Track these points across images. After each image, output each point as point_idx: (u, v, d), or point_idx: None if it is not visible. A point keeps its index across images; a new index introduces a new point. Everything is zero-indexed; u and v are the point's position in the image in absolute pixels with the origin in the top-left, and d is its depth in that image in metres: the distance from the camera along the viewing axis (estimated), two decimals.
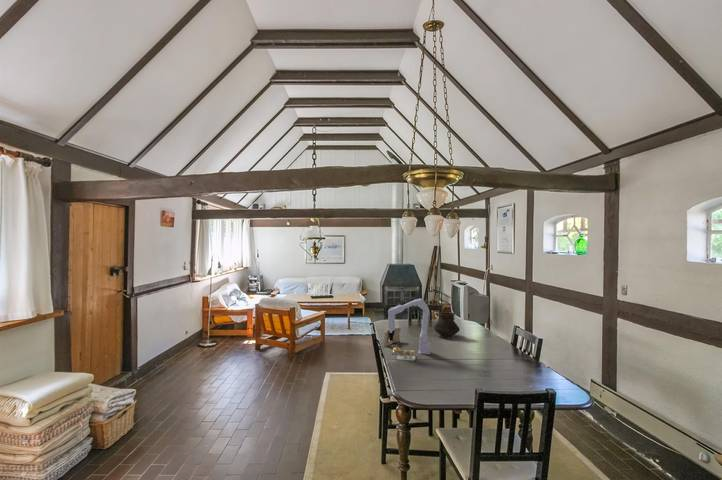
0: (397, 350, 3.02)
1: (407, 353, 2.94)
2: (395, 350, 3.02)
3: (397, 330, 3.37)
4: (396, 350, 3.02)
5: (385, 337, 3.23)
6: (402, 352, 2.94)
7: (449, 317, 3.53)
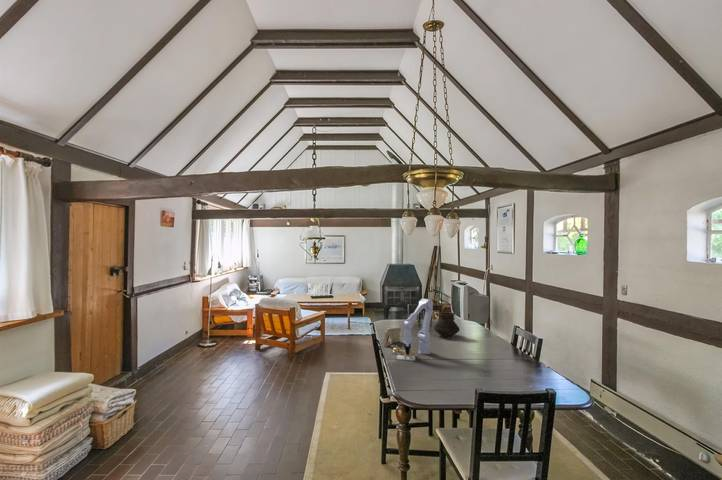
0: (397, 350, 3.02)
1: None
2: (395, 350, 3.02)
3: (397, 330, 3.37)
4: (396, 350, 3.02)
5: (385, 337, 3.23)
6: (402, 352, 2.94)
7: (449, 317, 3.53)
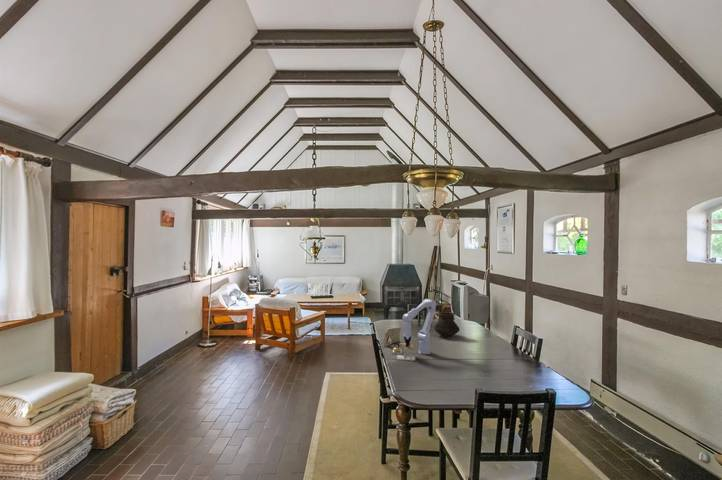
0: (397, 350, 3.02)
1: None
2: (395, 350, 3.02)
3: (397, 330, 3.37)
4: (396, 350, 3.02)
5: (385, 337, 3.23)
6: (402, 345, 2.94)
7: (449, 317, 3.53)
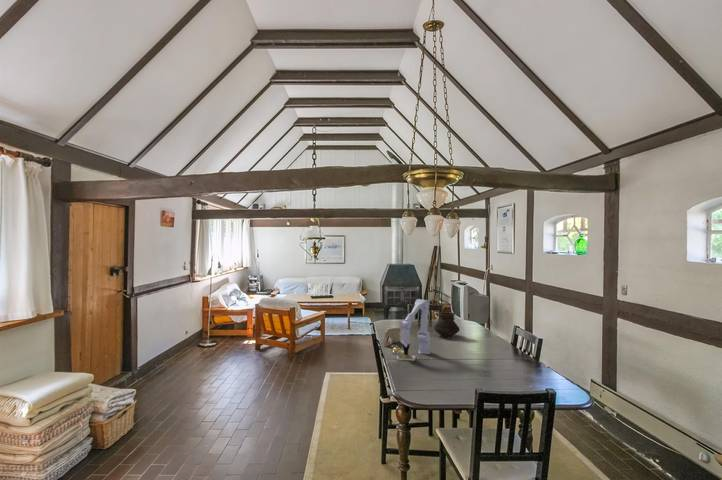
0: (397, 350, 3.02)
1: None
2: (395, 350, 3.02)
3: (397, 330, 3.37)
4: (396, 350, 3.02)
5: (385, 337, 3.23)
6: (400, 353, 2.87)
7: (449, 317, 3.53)
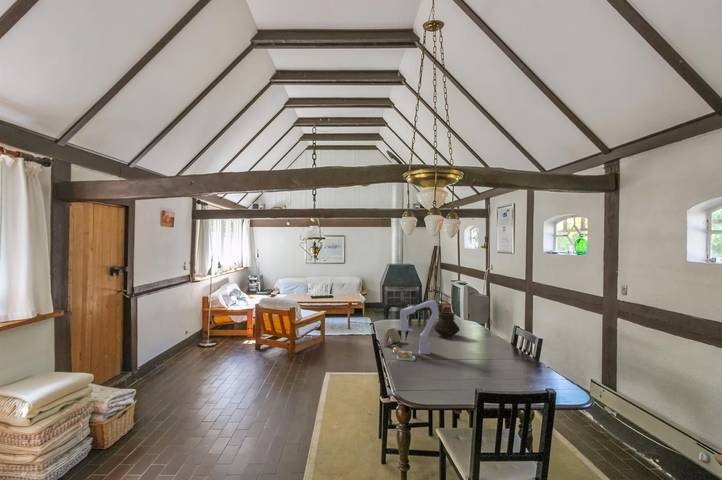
0: (397, 350, 3.02)
1: (405, 354, 2.87)
2: (395, 350, 3.02)
3: None
4: (396, 350, 3.02)
5: (385, 337, 3.23)
6: (400, 353, 2.87)
7: (449, 317, 3.53)
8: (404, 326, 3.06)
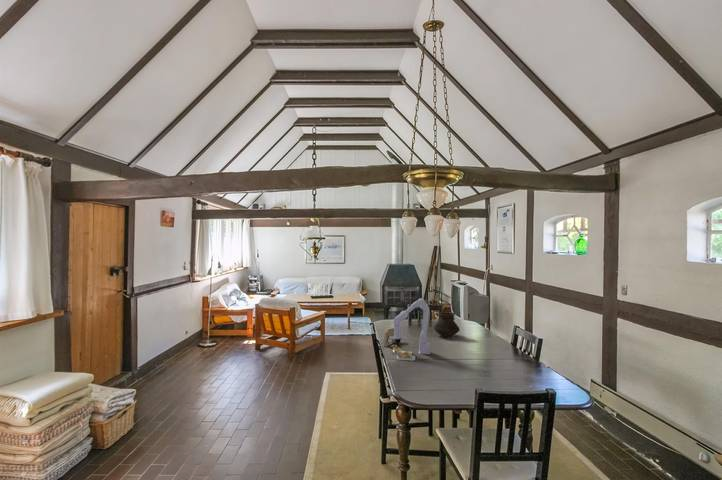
0: (397, 350, 3.02)
1: (405, 354, 2.87)
2: (395, 350, 3.02)
3: None
4: (396, 350, 3.02)
5: (385, 337, 3.23)
6: (400, 353, 2.87)
7: (449, 317, 3.53)
8: (398, 334, 3.06)
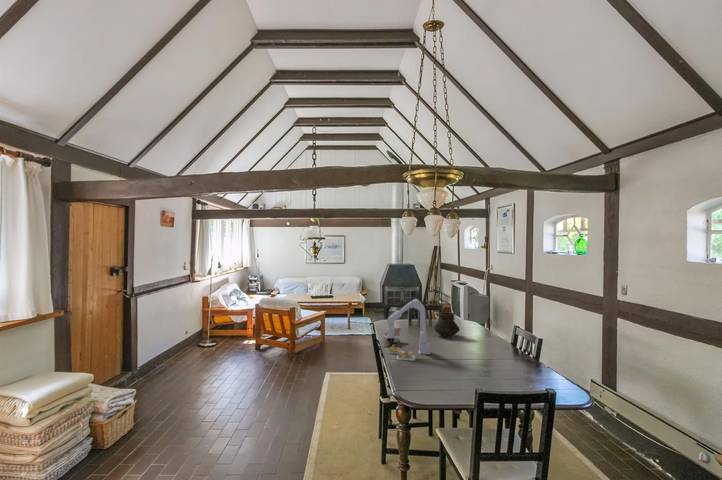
0: None
1: (405, 354, 2.87)
2: (399, 350, 3.03)
3: (397, 330, 3.37)
4: None
5: None
6: (400, 353, 2.87)
7: (449, 317, 3.53)
8: (391, 333, 3.07)
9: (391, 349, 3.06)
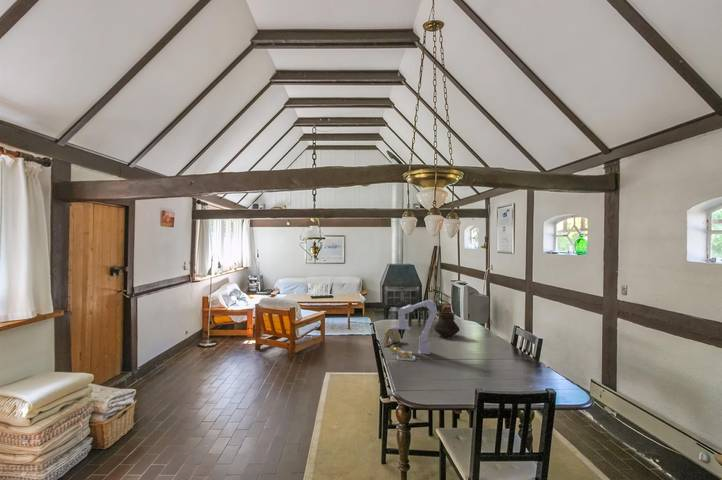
0: None
1: (405, 354, 2.87)
2: (399, 350, 3.03)
3: (397, 330, 3.37)
4: None
5: (385, 337, 3.23)
6: (400, 353, 2.87)
7: (449, 317, 3.53)
8: (402, 325, 3.08)
9: (391, 349, 3.06)
